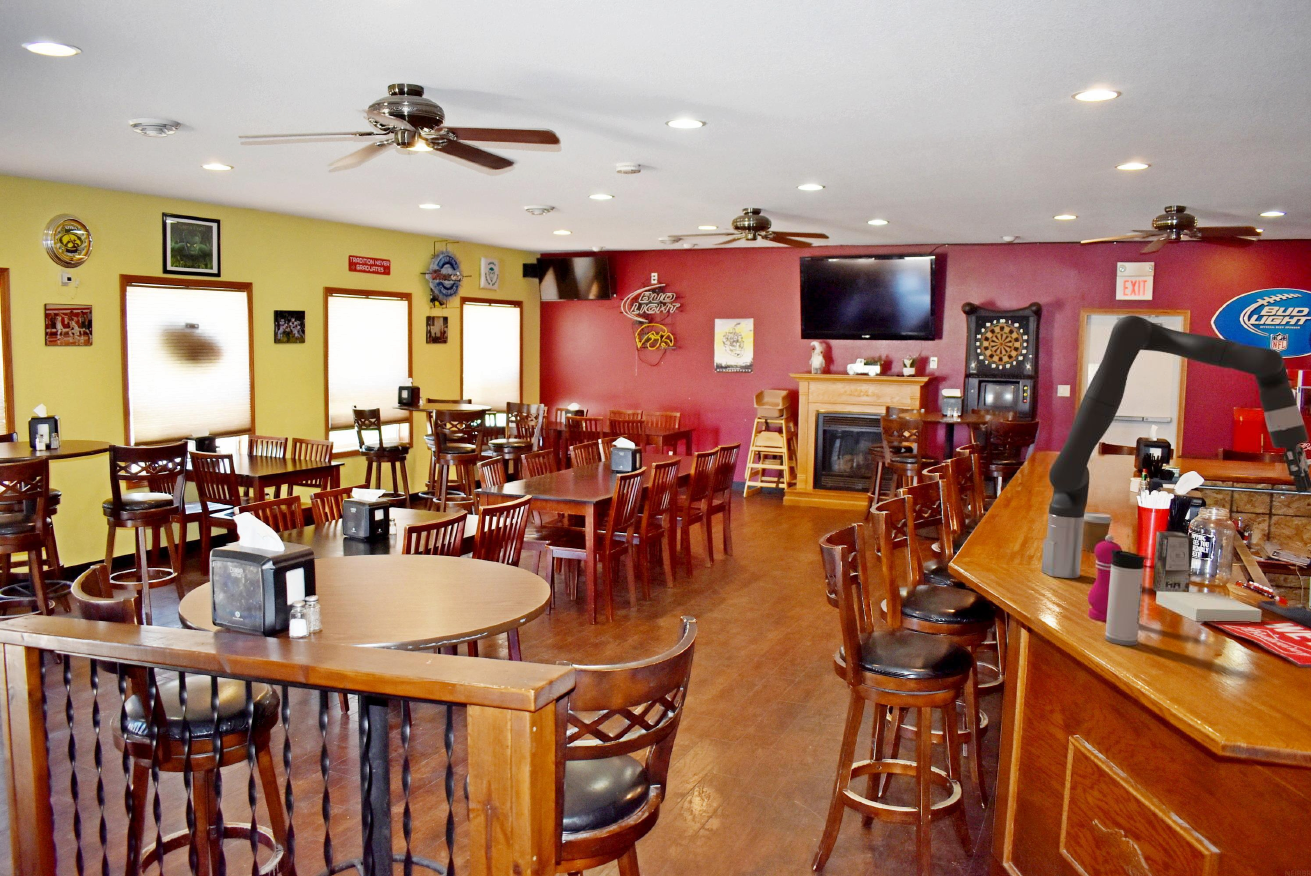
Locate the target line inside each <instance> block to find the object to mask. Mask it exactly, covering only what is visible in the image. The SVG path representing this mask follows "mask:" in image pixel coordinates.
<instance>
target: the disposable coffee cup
mask: <svg viewBox="0 0 1311 876" xmlns="http://www.w3.org/2000/svg"><path fill="white" fill-rule="evenodd" d="M1112 521H1113V519H1112V515H1110V514H1107V513H1103V512H1095V511H1094V512H1092V511H1085V513H1084V526H1083V538H1082V551H1084V550H1086V551H1085V552H1087V551H1091V552H1090V553H1093V552H1094V550H1095V547H1096V545H1097V544H1098V543H1100V542H1103V541H1106V540H1105V538H1106V536H1107V535H1109V531H1110V527H1111V526H1110V525H1111V523H1112Z"/></svg>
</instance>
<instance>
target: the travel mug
mask: <svg viewBox="0 0 1311 876" xmlns="http://www.w3.org/2000/svg"><path fill="white" fill-rule="evenodd" d="M1111 553H1112V564H1111V573H1110V585H1109V597H1108V610H1107V622H1106V624H1105V635H1104V637H1105V640H1106V641H1107V642H1109V643H1111V644H1115V645H1120V646H1128V647H1130V646H1135V645H1137V644H1138V641H1139V640H1138V639H1139V637H1138V636H1139V627H1140V618H1141V617H1140V616H1141V607H1142V606H1141V604H1142V593H1143V592H1142V591H1143V582H1144V570H1145V567H1144V564H1145V556H1144V555H1142V556H1141V555H1139V554H1138V553H1135V552H1130V551H1125V550H1122V551H1120V550H1112V551H1111Z"/></svg>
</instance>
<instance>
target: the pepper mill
mask: <svg viewBox="0 0 1311 876" xmlns="http://www.w3.org/2000/svg"><path fill="white" fill-rule="evenodd" d="M1114 539H1115V538H1114V536H1113V535H1111V534H1108V535H1107V536H1106V538H1105V540H1106V541H1103V542H1100V543H1098V544H1097V545H1096V547H1095V550H1094V556H1095V558H1097V559H1096V561H1095V567H1096V569H1097V573H1096V579H1095V581H1094V584H1093V585H1092V587H1091V588H1090V589H1089V593H1088V595H1087V602H1088V603H1089V605H1090V606H1091V608H1089V609H1088V617H1089V618H1090V619H1092V620H1095V621H1098V622H1099V621H1100V622H1107V610H1108V597H1109V585H1110V573H1111V564H1112V553H1111V551H1112V550H1120V551H1123V548H1122V547H1121V545H1120V544H1118V543H1117V542H1115V541H1114Z"/></svg>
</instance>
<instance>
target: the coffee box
mask: <svg viewBox="0 0 1311 876" xmlns="http://www.w3.org/2000/svg"><path fill="white" fill-rule="evenodd" d="M1194 539H1195V538H1194V537H1192V536H1191V535H1188V534H1186V533H1184V532H1182V531H1181V532H1179V531H1160V530H1156V539H1155V552H1154V565H1153V575H1152V576H1153V577H1152V590H1153V591H1155V592H1156V593H1157V592H1190V583H1191V574H1192V573H1191V572H1192V571H1191V570H1192V561H1193V551H1194V542H1195V541H1194Z"/></svg>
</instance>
